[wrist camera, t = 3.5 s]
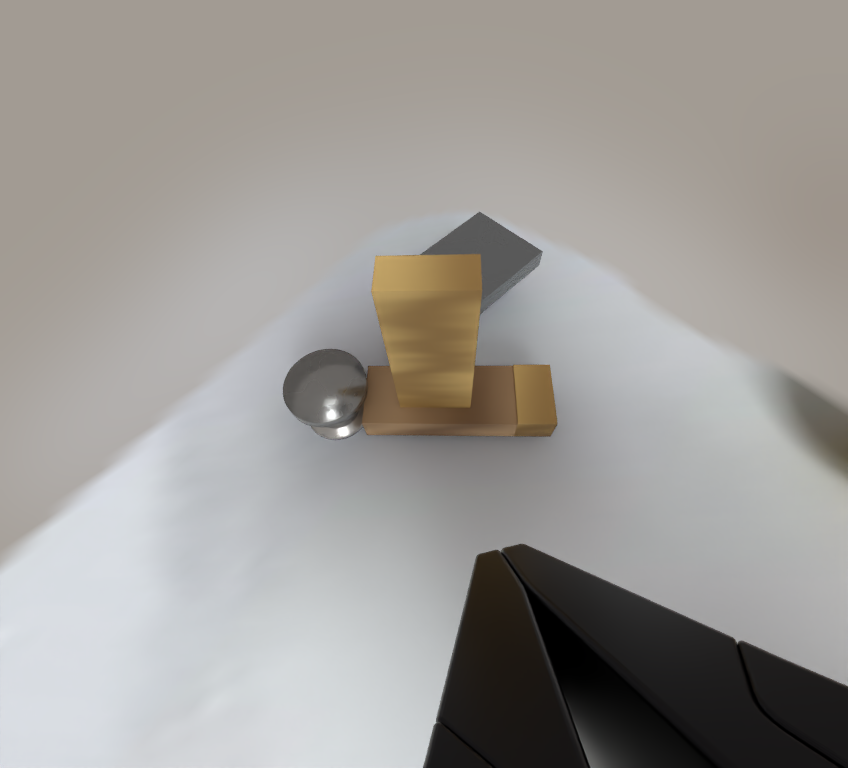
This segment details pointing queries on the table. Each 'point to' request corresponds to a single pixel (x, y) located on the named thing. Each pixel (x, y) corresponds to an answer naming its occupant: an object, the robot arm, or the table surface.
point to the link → (445, 358)
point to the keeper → (491, 254)
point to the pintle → (327, 393)
